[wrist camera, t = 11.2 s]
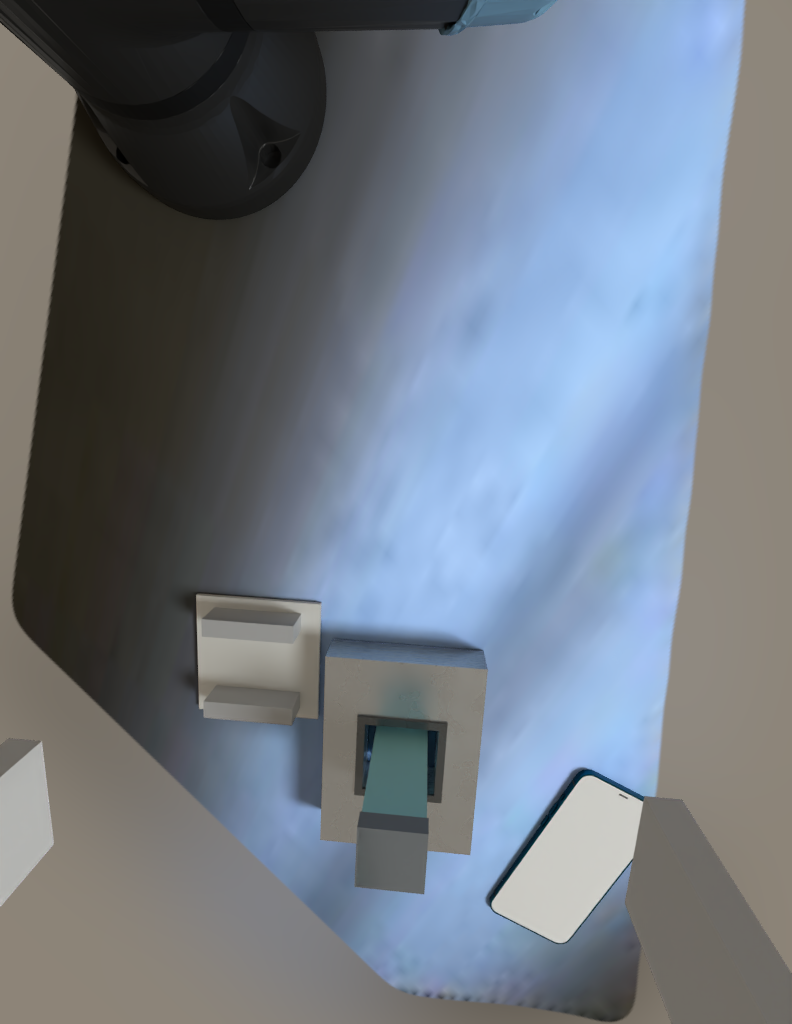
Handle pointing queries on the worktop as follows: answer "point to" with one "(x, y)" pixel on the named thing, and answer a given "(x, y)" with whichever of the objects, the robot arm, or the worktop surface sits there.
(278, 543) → the worktop surface
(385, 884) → the plug
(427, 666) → the port panel
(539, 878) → the smartphone
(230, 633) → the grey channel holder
